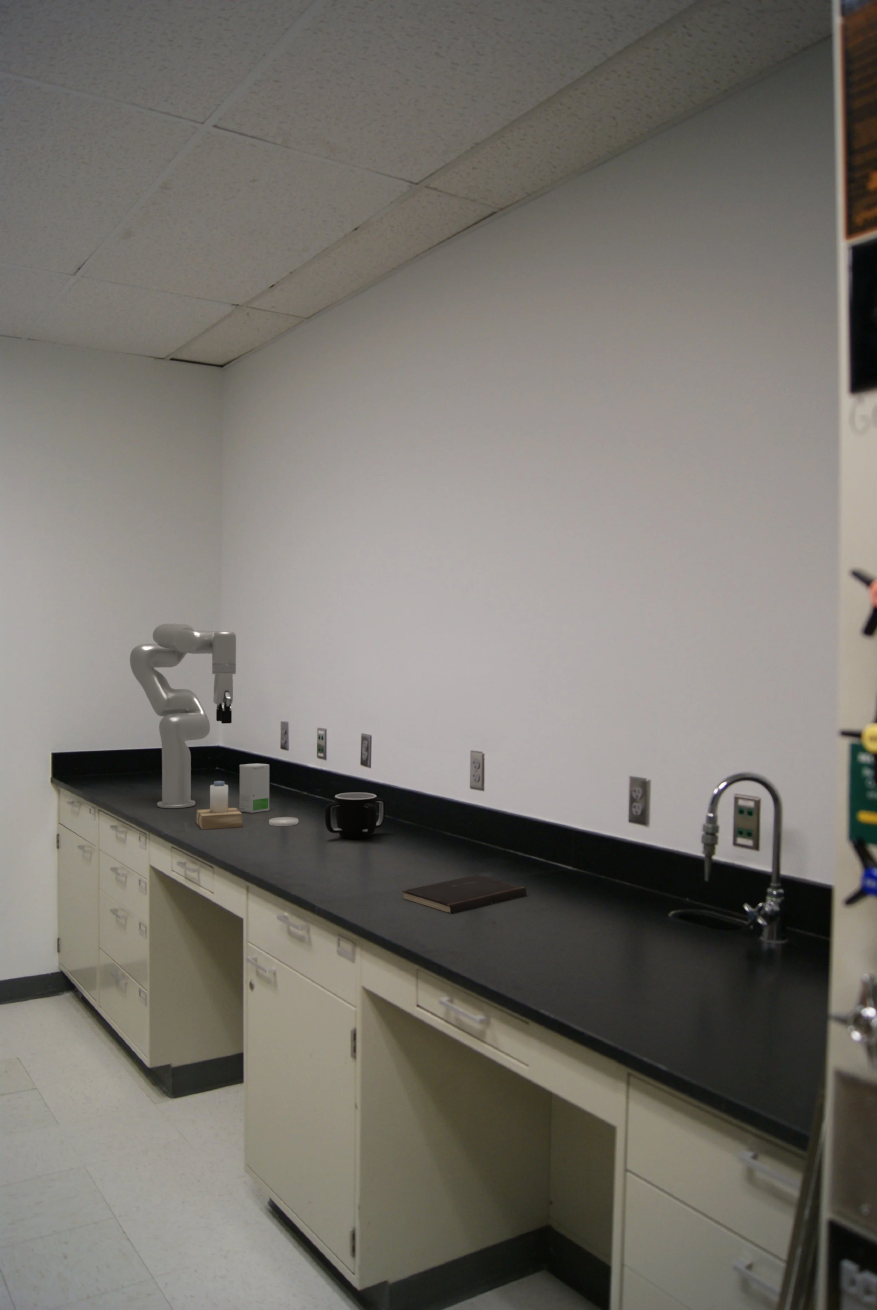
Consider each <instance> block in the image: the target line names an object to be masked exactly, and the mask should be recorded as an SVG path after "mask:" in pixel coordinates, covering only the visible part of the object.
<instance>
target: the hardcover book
mask: <svg viewBox="0 0 877 1310" xmlns="http://www.w3.org/2000/svg"><path fill="white" fill-rule="evenodd" d="M401 891H402V893H403V894H404V895H403V899H404V900H407V901H410V902H414V903H416V904H420V905H422V906H426V907H430V908H433V909H436V910H439V911H442V912H446V913H448V912H449V913H448V914H450V913H452V914H455V913H454V912H456V913H459V912H463V911H467V910H472V909H476V908H480V907H479V906H481V907H484V906H483V905H485V906H489V905H492V904H491V903H493V904H496V903H495V902H497V903H500V901H501V902H504V901H503V900H505V901H507V899H509V900H512V899H511V898H514V899H517V898H516V897H518V898H521V897H520V896H522V897H524V895H526V896H527V889H526V887H525V886H521V885H519V884H515V883H510V882H506V881H503V880H500V879H495V878H491V877H489V876H483V875H480V874H474V875H469V876H464V877H460V878H455V879H452V880H450V879H449V880H446V881H440V882H437V883H432V884H428V885H422V886H418V887H414V888H408V889H404V890H401ZM488 904H489V905H488Z"/></svg>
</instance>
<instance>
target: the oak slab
mask: <svg viewBox="0 0 877 1310" xmlns="http://www.w3.org/2000/svg"><path fill="white" fill-rule="evenodd" d="M196 824H197V825H198V826H199V827H200V828H201V830H212V829H214V830H216V829H227V828H228V829H230V828H243V812H241V811H239V809H238V808H237V807H228V812H225V813H211V812H210V808H205V809H204V808H203V809H196Z"/></svg>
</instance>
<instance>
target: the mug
mask: <svg viewBox="0 0 877 1310" xmlns="http://www.w3.org/2000/svg"><path fill="white" fill-rule="evenodd" d="M377 804H379V805H377ZM377 806H379V809H378V810H379V812H378V813H379V814H378V815H379V816H378V819H377ZM333 808H334V811H335V820H336V826H337V828H333V825H332V809H333ZM385 819H386V801H385V800H384V799H383V798H381V797H377V795H376V794H374V793H370V792H343V793H342V792H341V793H339V794H335V796H334V801H333V802H329V803H327V804H326V806H325V807H324V824H325V826H326V829H327V831H328V832H329V833H331V834H339V836H340V837H342V838H343V839H348V840H360V839H367V838H369V837H370V836H372V835H373V834H374V833H375V831H376V829H377V828H378V829H379V828H380V827H382V826H383V824H384V822H385Z"/></svg>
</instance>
